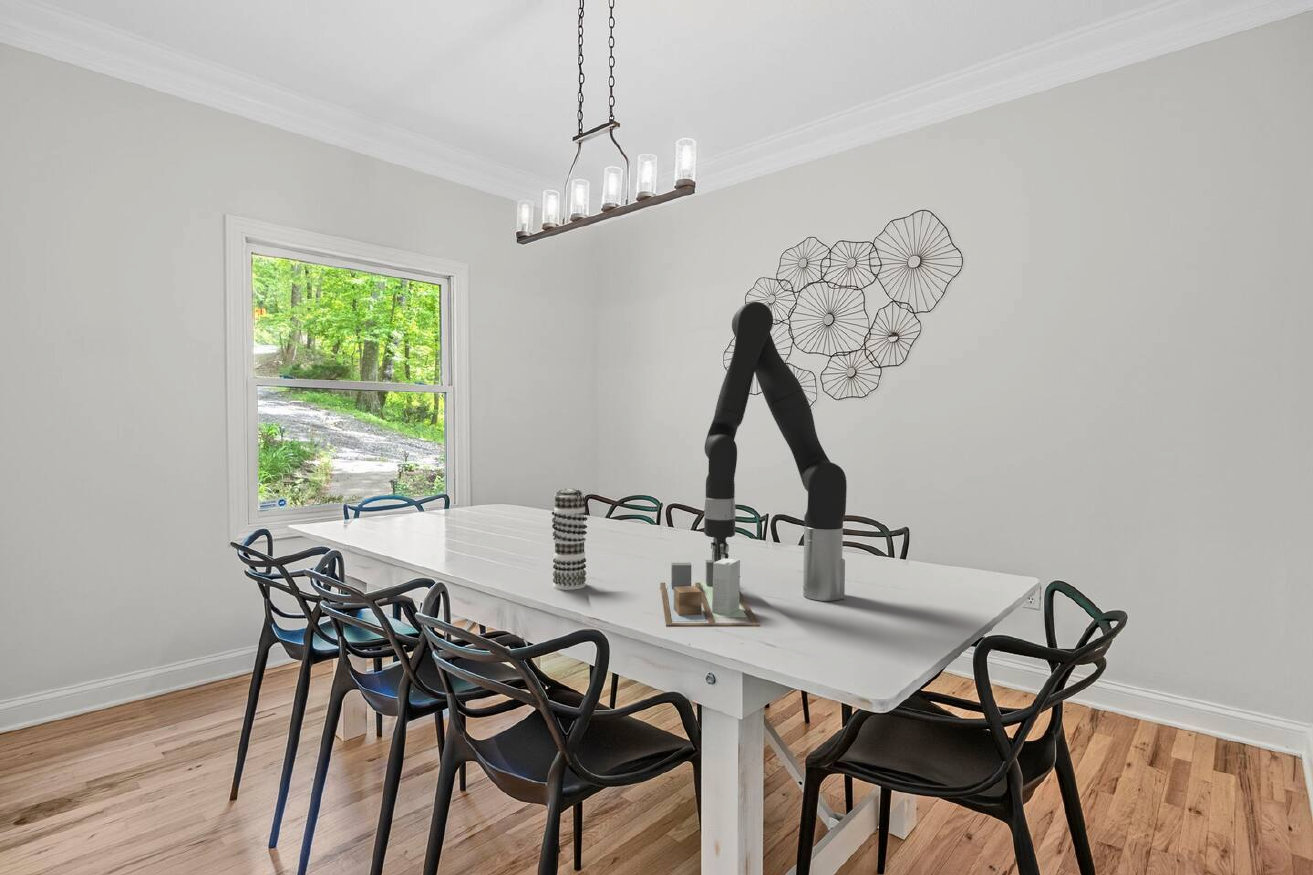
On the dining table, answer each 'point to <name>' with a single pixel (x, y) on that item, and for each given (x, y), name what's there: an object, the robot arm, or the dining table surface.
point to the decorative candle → (569, 539)
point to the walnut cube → (687, 600)
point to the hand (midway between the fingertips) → (719, 586)
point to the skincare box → (726, 586)
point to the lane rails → (707, 611)
